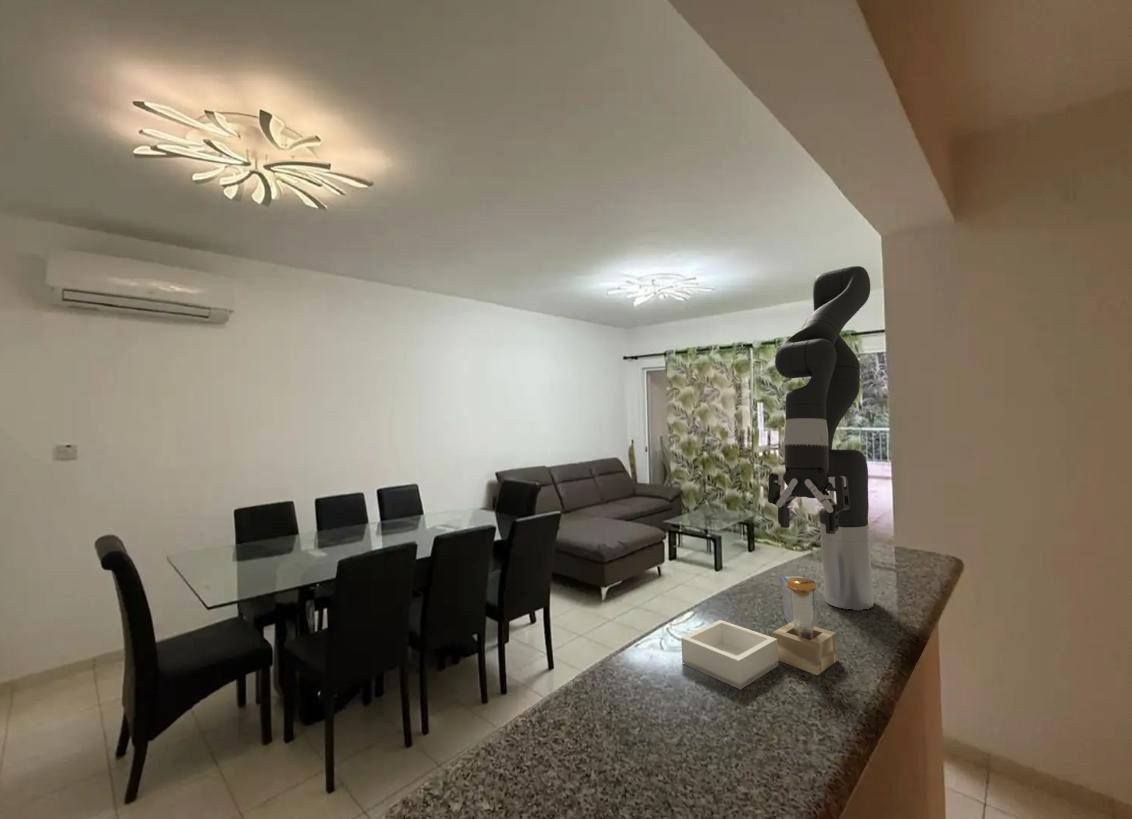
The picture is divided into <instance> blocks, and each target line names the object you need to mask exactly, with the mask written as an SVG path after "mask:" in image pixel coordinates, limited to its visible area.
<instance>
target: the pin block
mask: <svg viewBox="0 0 1132 819" xmlns="http://www.w3.org/2000/svg"><path fill="white" fill-rule="evenodd" d="M772 637H773V638H776V639H777V645H778V661H779V662H781V663H784V664H786V665H788V666H791V667H794V668H796V669H799V670H802V671H805V672H808V673H810V674H813V675H816V676H818V675H820V674H822V673H823V672H824V671H826V670H827V669H828V668H830V667H831V666H832V665H834V664H836V663H837V662H838V661H839V656H838V655H839V654H838V653H839V652H838V639H837V638H838V637H837V632H835V631H830V630H827V629H824V628H821V627H819V626H818V627H815V626H814V639H812V640H808V639H805V638H802V637H799V636H795V635H794V621H792V622H790V623H786V624H785V625H783V626H782V627H779V628H778V629H776V630H774V631H772Z"/></svg>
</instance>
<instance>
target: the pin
mask: <svg viewBox="0 0 1132 819" xmlns="http://www.w3.org/2000/svg"><path fill="white" fill-rule="evenodd" d="M816 585H817V584H816V581H815V580H813V579H811V578H805V577H804V578H789V579H787V587H788V588H789V589H791V590H792V603H793V619H794V635H795V636H799V637H802V638H805V639H808V640H812V639H814V625H813V609H812V593H811V592H812V591H815V592H816V590H817V589H816V588H817V587H816Z"/></svg>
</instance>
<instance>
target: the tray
mask: <svg viewBox="0 0 1132 819" xmlns="http://www.w3.org/2000/svg"><path fill="white" fill-rule="evenodd" d="M680 642H681V661H682V664H683V663H684V664H683V665H685V664H686V665H685V666H687V665H688V666H687V667H690V668H691V669H694V670H696V671H699V672H701V673H703V674H705V675H707V676H709V677H712V678H714V679H716V680H719V681H720V682H723V683H725V684H727V685H729V686H731V687H734V688H736V689H738V690H739V691H741V690H742V689H743V688H745V687H747V686H748V685H750V684H752V683H753V682H755V681H756V680H759V678H761V677H763V676H764V675H766V674H767V673H769V672H770V671H772V670H774V669H776V668H777V667H778V666H779V665H780V664H779V662H780V661H778V645H777V639H776V638H773V636H769V635H766V634H764V633H761V632H758V631H755V630H752V629H749V628H745V627H743V626H740V625H736V624H735V623H731V622H729V621H728V622H727V621H725V620H722V619H719V620H717V621H714V622H712V623H710V624H707V625H706V626H704V627H701V628H699V629H697V630H695V631H693V632H690V633H688V634H686V635H684V636H682V637H680Z"/></svg>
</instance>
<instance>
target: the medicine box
mask: <svg viewBox="0 0 1132 819" xmlns="http://www.w3.org/2000/svg"><path fill="white" fill-rule="evenodd" d="M789 578H805V577H804V576H793V575H792V576H791V575H790V576H781V595H782V608H783V609H782V610H783V611H782V612H783V618H784V620H785V621H786V624H788V623H790V622H792V621H794V619H793V603H792V590H791V589H789V588H788V587H787V579H789ZM811 593H812V609H813V625H814V626H815V627H818V628H819V624H818V612H817V600H816V599H817V598H816V590H815V591H812V592H811Z"/></svg>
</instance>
